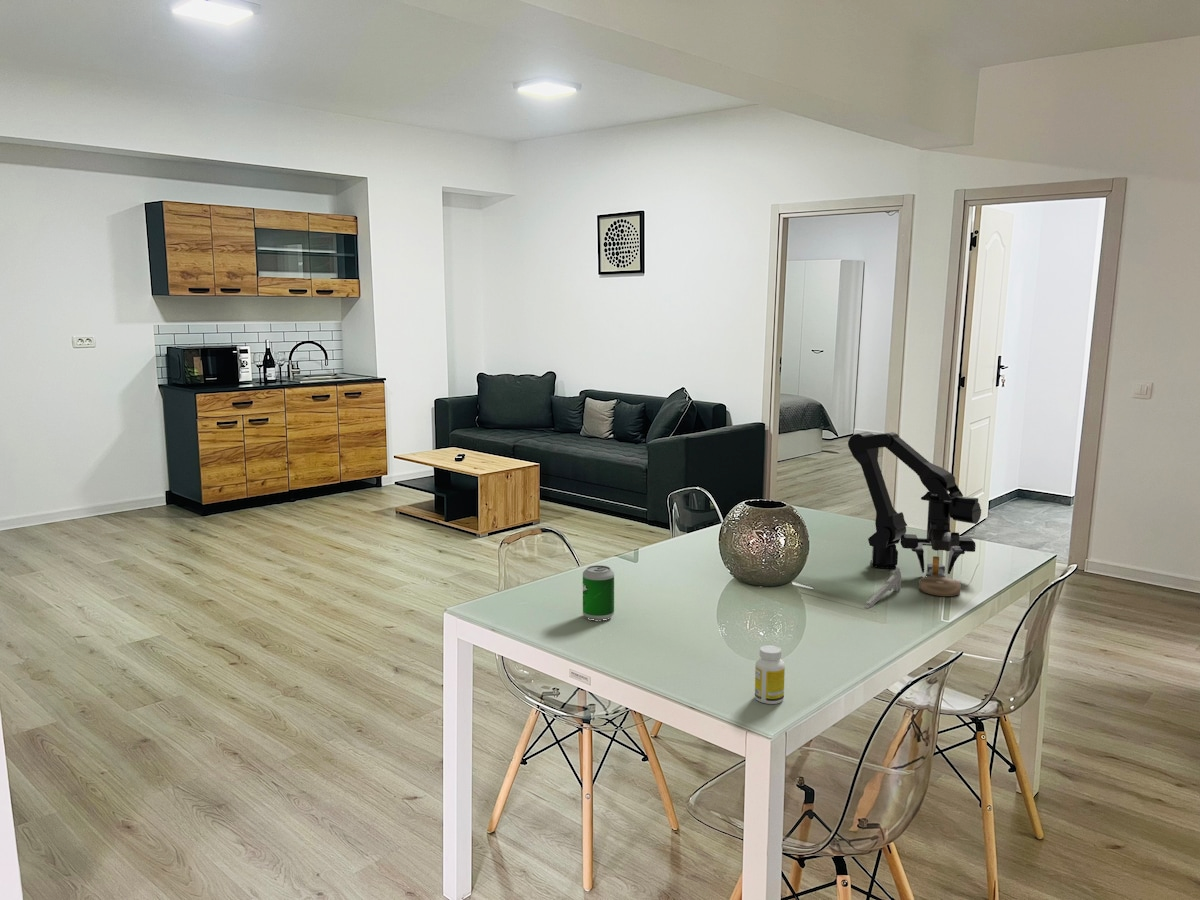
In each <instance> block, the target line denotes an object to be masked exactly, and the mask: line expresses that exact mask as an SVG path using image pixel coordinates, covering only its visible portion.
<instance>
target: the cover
mask: <svg viewBox="0 0 1200 900" xmlns="http://www.w3.org/2000/svg"><path fill="white" fill-rule="evenodd" d="M932 567H933V563H927V565H926V573H925V575H926V576H927V577H930V576H932ZM938 574H939V575H940V577H946V578H947V576H946V575H945V574H946V566H945V565H943V564H940V563H939V573H938ZM926 576H925V577H926Z"/></svg>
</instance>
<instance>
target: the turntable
mask: <svg viewBox="0 0 1200 900" xmlns="http://www.w3.org/2000/svg"><path fill="white" fill-rule="evenodd" d="M932 564H933V567H932V576H930V577H926V576H924V577H921V578H920V579H919V590H920V591H921V592H923V593H924V594H928V595H932V596H936V597H937V596H939V597H953V596H958V595H960V594H961V587H962V586H961V582H960V581H958V580H956V579H953V578H950V577H947V576H946V577H940V575H939V574H938V573H939V564H940V556H935V555H934V556H932Z"/></svg>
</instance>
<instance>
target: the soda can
mask: <svg viewBox="0 0 1200 900" xmlns="http://www.w3.org/2000/svg"><path fill="white" fill-rule="evenodd" d="M582 614H583V616H585V618H586V617H587V618H589V619H594V620H603V619H608V618H610V617H613V616H614V614H615V572H614V570H612V569H611V567H610V566H607V565H602V564H601V565H598V564H597V565H590V566H588V567H586V569H585V570H584V571H582ZM587 618H586V619H587ZM610 619H611V618H610Z"/></svg>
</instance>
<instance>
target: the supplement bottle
mask: <svg viewBox="0 0 1200 900" xmlns="http://www.w3.org/2000/svg"><path fill="white" fill-rule="evenodd" d="M781 658H782V649H781V647H779V646H775V645H762V646H761V647H759V658H758V659H756V661H755V674H754V675H755V677H754V679H755V680H754V697H755V699H756V701H758V702H760V703H762V704H768V705H777V704H780V703H782V702H783V700H784V699H785V698H784V697H785V671H786V670H785V669H786V668H785V667H786V666H785V662H784V660H782V659H781Z"/></svg>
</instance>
